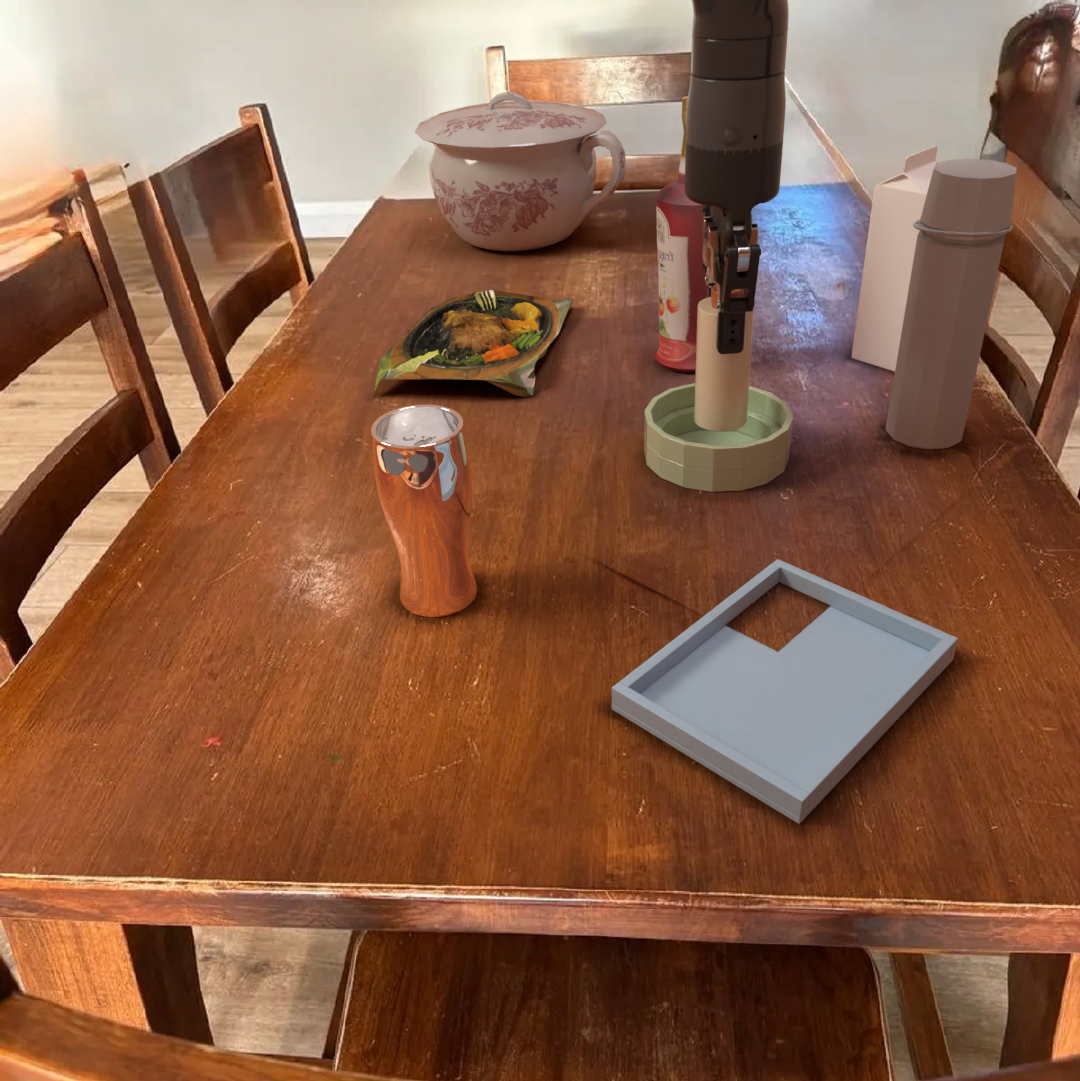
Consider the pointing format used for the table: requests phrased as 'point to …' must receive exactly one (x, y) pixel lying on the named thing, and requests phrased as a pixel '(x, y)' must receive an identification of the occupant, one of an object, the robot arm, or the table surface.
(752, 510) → the table surface
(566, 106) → the chamber pot
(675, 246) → the liquor
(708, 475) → the bowl
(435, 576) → the beer glass
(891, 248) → the milk
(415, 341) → the prepared meal
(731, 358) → the bottle
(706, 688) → the tray
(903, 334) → the water bottle
